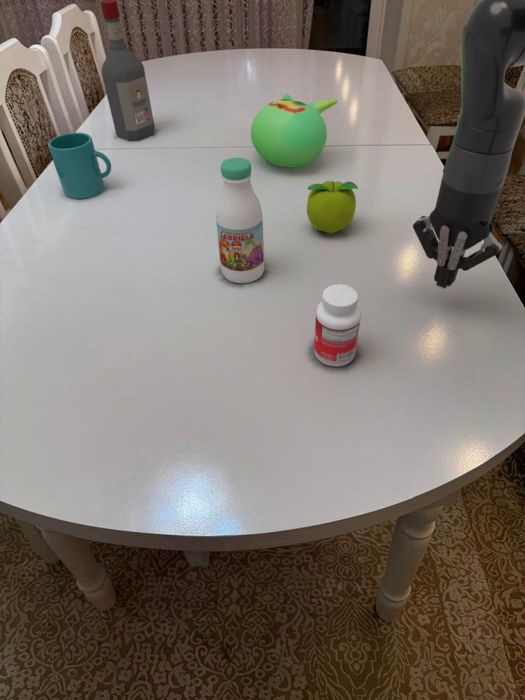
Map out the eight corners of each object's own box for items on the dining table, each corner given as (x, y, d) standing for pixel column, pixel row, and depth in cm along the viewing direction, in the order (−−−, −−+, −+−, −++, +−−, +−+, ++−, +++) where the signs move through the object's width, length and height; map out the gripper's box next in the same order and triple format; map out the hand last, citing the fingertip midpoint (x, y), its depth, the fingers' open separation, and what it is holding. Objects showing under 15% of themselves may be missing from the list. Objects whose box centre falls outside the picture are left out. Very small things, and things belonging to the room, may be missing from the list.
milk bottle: (220, 261, 91) (209, 154, 77) (262, 257, 92) (258, 150, 78) (222, 286, 86) (210, 176, 72) (266, 282, 86) (263, 172, 72)
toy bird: (238, 164, 120) (234, 100, 109) (282, 141, 129) (282, 79, 118) (297, 186, 111) (299, 117, 101) (340, 159, 120) (346, 94, 110)
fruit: (351, 243, 94) (357, 194, 87) (303, 239, 96) (304, 191, 89) (355, 218, 101) (360, 171, 94) (309, 215, 102) (311, 168, 95)
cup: (112, 199, 109) (98, 149, 101) (58, 200, 110) (41, 149, 102) (122, 180, 116) (110, 131, 108) (71, 181, 116) (56, 132, 108)
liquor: (159, 132, 135) (136, 0, 114) (133, 143, 131) (104, 7, 110) (138, 124, 140) (112, -4, 119) (112, 135, 135) (80, 3, 114)
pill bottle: (322, 334, 77) (327, 276, 69) (360, 345, 75) (369, 287, 67) (307, 360, 73) (309, 302, 65) (346, 373, 71) (354, 314, 63)
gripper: (535, 179, 63) (494, 287, 76) (437, 154, 69) (413, 258, 81) (515, 204, 59) (475, 313, 71) (412, 175, 65) (392, 281, 77)
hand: (442, 284), depth 76 cm, fingers closed
